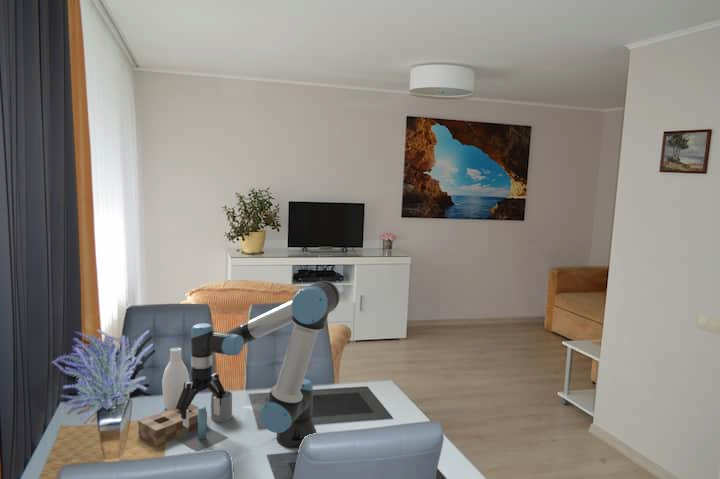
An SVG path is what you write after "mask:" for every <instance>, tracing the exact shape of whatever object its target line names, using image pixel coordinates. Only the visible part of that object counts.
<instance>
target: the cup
mask: <svg viewBox="0 0 720 479" xmlns="http://www.w3.org/2000/svg"><path fill="white" fill-rule="evenodd" d="M217 391H218V390H217ZM218 392H219V391H218ZM225 392H226V394H225V395H223V398H222V399H221V405H220V415H216V414H214V397H216V396H215V395H214V394H213V393H212V392H211V395H210V411H211V412H210V415H211V416H210V420H212V422H216V423H224V422H229V421H230V420H232V419H233V392H231V391H229V390H225Z"/></svg>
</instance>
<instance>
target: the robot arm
mask: <svg viewBox="0 0 720 479" xmlns="http://www.w3.org/2000/svg"><path fill="white" fill-rule="evenodd" d="M340 296H341V295H340V291H339V289H338V287H337V286H336V285H335V284H334V283H332V282H331V281H328V280H319V281H316V282H314V283H312V284H310V285H308V286H304V287H302V288H301V289H299V291H297V292H296V293H295V294H294V295H293V298H292V300H289V301H287V302H285V303H283V304H281V305H278V306H277V307H275V308H272V309H271V310H268V311H266V312H264V313H263V314H260V315H257V316H256V317H254V318H252V319H250V320H248V321H245V322H242V323H241V324H239V325H237V326H235V327H234V328H231V329H229V330H227V331H225V332H221V331H220V332H219V331H215V330H214V329H213V325H212V324H211V323H207V322H206V323H203V322H201V323H197V324H194V325H192V327H191V333H190V334H191V336H190V346H191V352H190V354H191V355H190V357H191V358H190V362H191V363H190V365H191V368H190V372H191V373H190V376H191V380H190V382H188V383H187V382H184V388H183V391H182V393H181V396H180V398H179V401H178V403H177V406H176V409H178V410H180V411H181V418H182V419H183V426H185V427H187V428H188V427H189V410H188V407H189V405H190V404H192V402H193V400H194V399H195V397H196V395H198V393H199V392H203V391H205V390H207V389H208V390H209V391H210V392H211V394H212V393H213V394H214V395H215V396H216V397H214V414H216V415H220V405H221V399H222V398H223V395H225V394H226V392H225V391H226V390H225V388H224V386H223V383H222V382H221V381H220V375H219V374H218V373H216V372H213V353H214V354H220V355H225V356H226V355H227V356H238V355H240V354H241V352H242V351H243V349H244V346H245V345H247V344H249V343H251V342H252V341H255V340H258V339H259V338H261V337H263V336H265V335H267V334H270V333H272V332H274V331H276V330H279V329H281V328H283V327H285V326H287V325H290V324H292V323H293V328H292V332H291V335H290V338H289V342H288V345H287V348H286V352H285V355H284V358H283V362H282V365H281V369H280V372H279V376H278V379H277V383H276V384H275V385H273V386H272V387H271V388H270V391H269V394H268V397H267V400H266V402H265V403H264V404H262V407H261V408H260V410H259V419H260V422H261V423H262V425H263V427H264V428H265V429H267V431H269V432H270V433H271V432H272V433H274V434H275V433H276V441H277V443H278V444H279V445H281V446H284V447H287V448H295V449H297V448H300V447H299V446H300V444H301V442H302V440H303V439H304V437H305V436H307V435H309V434H313V433H316V434H317V429H316V427H315V424H314V423H315V422H314V421H313V402H314V400H313V399H314V398H313V395H314V389H313V382H312V381H311V380H309V379H306V378H305V376H306V372H307V369H308V366H309V363H310V360H311V357H312V354H313V350H314V346H315V343H316V342H317V341H316V340H317V338H318V334H319V332H320V331H322V330H324V328H325V327H326V323H327V320H328V316H329V314H330V313H331V312H333V311H334V310H335V309H336V308H337V307H338V305H339V302H340ZM212 380H213V383H214V384H215V387H214V385H213V384H212V383H211V382H212ZM218 391H219V392H218Z"/></svg>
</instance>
